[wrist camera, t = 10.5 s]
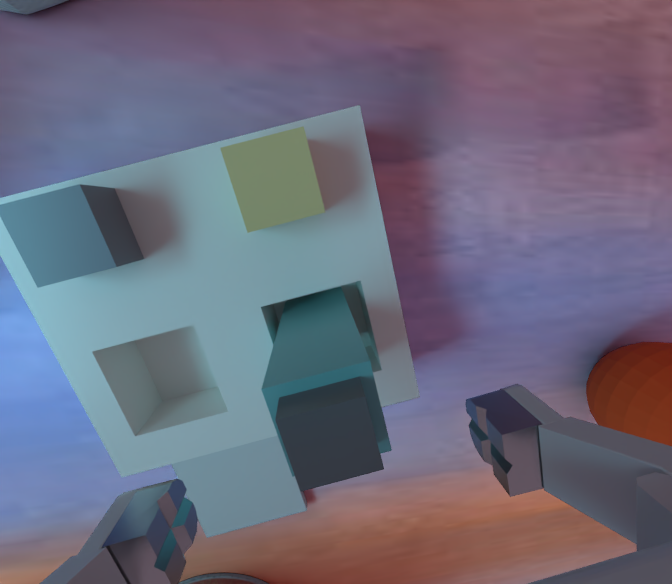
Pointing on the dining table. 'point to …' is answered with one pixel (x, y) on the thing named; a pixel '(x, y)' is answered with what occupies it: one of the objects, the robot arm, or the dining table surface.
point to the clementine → (634, 391)
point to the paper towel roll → (27, 5)
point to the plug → (324, 393)
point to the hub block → (204, 281)
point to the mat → (241, 486)
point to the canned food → (223, 579)
